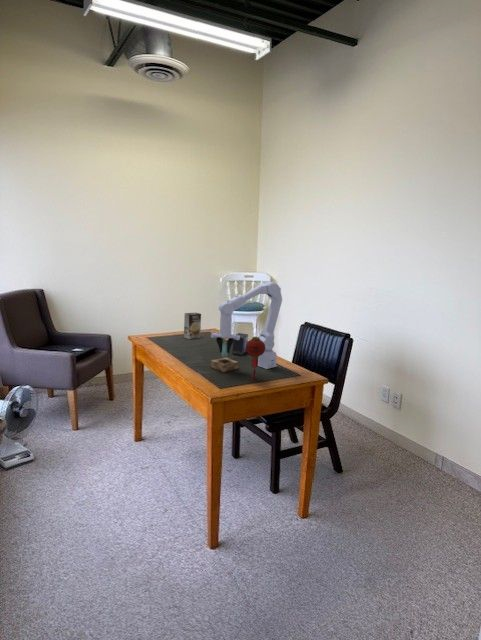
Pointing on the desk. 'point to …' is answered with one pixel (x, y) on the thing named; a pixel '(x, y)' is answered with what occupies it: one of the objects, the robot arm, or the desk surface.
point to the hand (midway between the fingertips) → (224, 352)
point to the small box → (240, 344)
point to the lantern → (255, 350)
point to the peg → (224, 349)
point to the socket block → (224, 364)
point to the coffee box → (192, 325)
